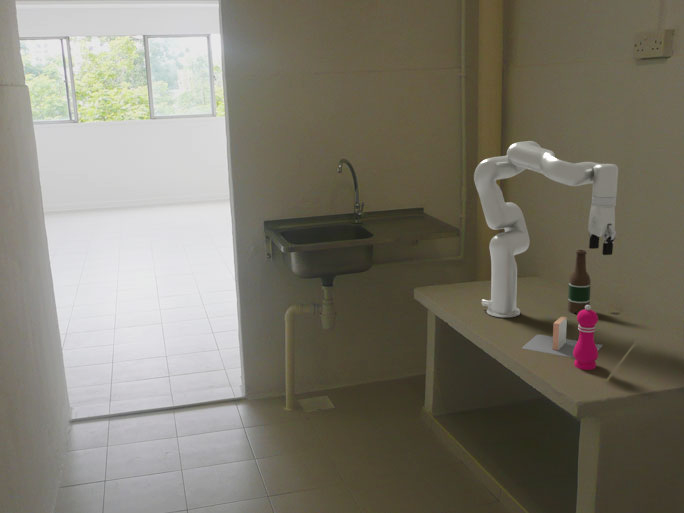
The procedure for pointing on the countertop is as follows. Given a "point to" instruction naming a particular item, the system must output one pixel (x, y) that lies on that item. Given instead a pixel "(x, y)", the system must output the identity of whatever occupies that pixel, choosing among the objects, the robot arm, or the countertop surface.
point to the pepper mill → (586, 340)
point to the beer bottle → (579, 285)
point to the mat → (546, 346)
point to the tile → (559, 333)
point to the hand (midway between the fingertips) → (600, 251)
